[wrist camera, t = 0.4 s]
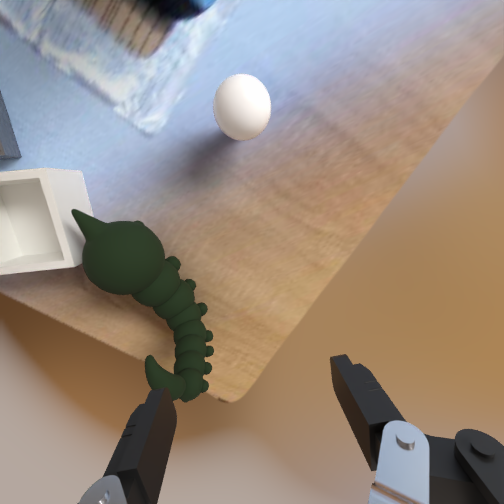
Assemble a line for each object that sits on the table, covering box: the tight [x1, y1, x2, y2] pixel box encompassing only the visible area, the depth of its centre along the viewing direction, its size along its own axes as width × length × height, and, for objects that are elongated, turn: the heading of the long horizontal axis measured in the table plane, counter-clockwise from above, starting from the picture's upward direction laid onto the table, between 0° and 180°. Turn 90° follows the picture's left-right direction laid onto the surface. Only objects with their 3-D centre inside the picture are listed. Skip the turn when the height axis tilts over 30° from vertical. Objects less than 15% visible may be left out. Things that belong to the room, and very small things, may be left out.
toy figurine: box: [71, 209, 214, 402], centre depth 31 cm, size 9×19×25 cm
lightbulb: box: [213, 74, 271, 141], centre depth 30 cm, size 6×6×11 cm
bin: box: [0, 168, 94, 275], centre depth 33 cm, size 12×12×7 cm
